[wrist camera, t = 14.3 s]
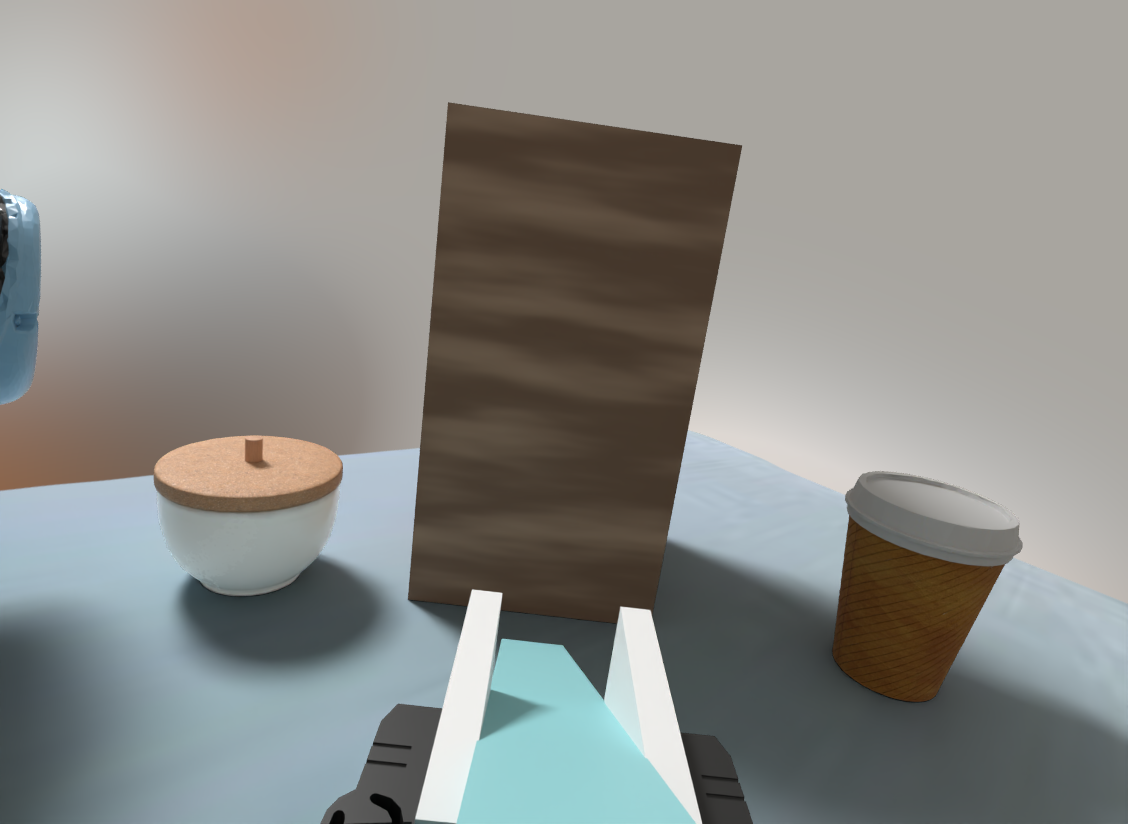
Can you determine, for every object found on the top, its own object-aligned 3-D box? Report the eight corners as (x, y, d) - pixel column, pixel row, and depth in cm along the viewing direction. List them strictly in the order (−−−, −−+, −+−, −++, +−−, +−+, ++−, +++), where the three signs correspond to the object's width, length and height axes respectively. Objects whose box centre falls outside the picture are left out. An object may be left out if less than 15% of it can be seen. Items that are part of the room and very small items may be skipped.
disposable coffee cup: (956, 657, 44) (1010, 495, 41) (979, 746, 36) (1049, 551, 33) (811, 610, 48) (851, 458, 45) (800, 682, 39) (849, 499, 36)
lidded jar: (333, 614, 40) (340, 471, 37) (131, 622, 36) (125, 466, 34) (340, 534, 50) (347, 417, 47) (182, 534, 46) (180, 408, 44)
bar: (725, 1256, 6) (738, 880, 7) (396, 1233, 6) (448, 851, 7) (555, 711, 31) (562, 645, 32) (493, 704, 31) (502, 638, 32)
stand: (649, 627, 43) (742, 145, 35) (407, 599, 42) (448, 102, 35) (626, 524, 58) (686, 173, 51) (448, 502, 58) (482, 144, 50)
